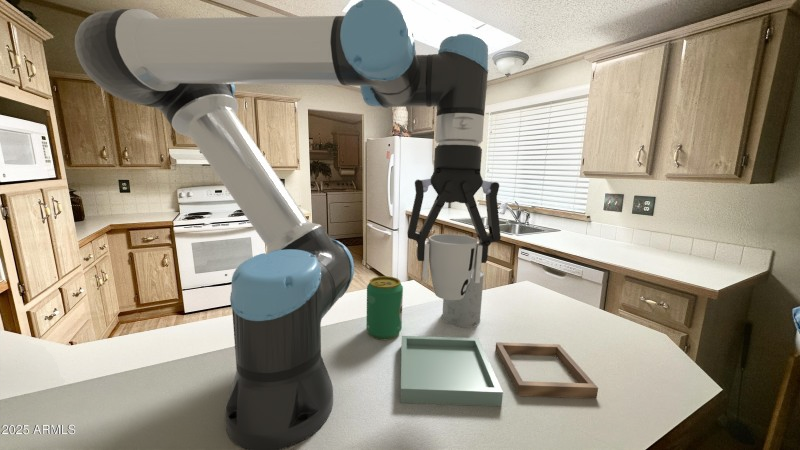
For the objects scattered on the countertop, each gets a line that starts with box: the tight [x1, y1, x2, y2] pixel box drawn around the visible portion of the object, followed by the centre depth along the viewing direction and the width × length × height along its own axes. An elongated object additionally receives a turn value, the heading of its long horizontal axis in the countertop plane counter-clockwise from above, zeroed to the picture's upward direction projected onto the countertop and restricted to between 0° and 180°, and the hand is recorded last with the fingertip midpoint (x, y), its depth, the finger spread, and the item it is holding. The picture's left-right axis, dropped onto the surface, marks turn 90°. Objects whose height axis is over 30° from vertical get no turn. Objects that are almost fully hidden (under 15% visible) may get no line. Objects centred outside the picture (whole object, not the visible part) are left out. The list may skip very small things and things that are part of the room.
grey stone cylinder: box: [441, 270, 485, 328], centre depth 78 cm, size 10×10×12 cm
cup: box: [428, 233, 478, 300], centre depth 54 cm, size 8×8×10 cm
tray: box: [400, 335, 504, 407], centre depth 57 cm, size 16×16×2 cm
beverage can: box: [365, 275, 404, 341], centre depth 70 cm, size 8×8×12 cm
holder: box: [495, 341, 599, 400], centre depth 58 cm, size 13×13×2 cm
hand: (450, 279), depth 54 cm, fingers closed on cup, 8 cm apart
